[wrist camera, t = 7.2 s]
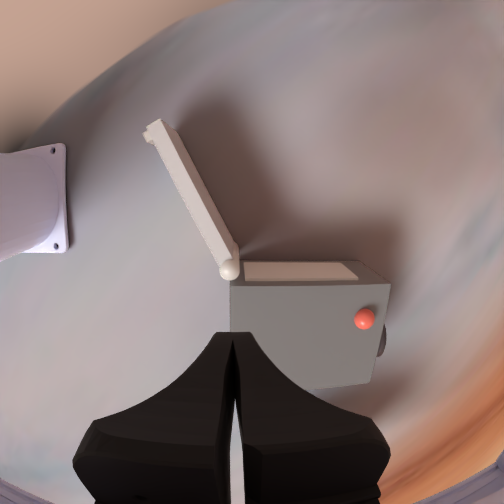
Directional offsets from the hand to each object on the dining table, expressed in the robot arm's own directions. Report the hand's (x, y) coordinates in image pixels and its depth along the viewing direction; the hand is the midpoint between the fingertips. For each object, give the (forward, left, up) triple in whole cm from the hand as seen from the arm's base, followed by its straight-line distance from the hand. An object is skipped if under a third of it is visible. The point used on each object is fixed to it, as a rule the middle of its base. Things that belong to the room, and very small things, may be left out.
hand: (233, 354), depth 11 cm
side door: (-2, +5, -10) cm, 11 cm away
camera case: (+4, -3, -10) cm, 11 cm away
